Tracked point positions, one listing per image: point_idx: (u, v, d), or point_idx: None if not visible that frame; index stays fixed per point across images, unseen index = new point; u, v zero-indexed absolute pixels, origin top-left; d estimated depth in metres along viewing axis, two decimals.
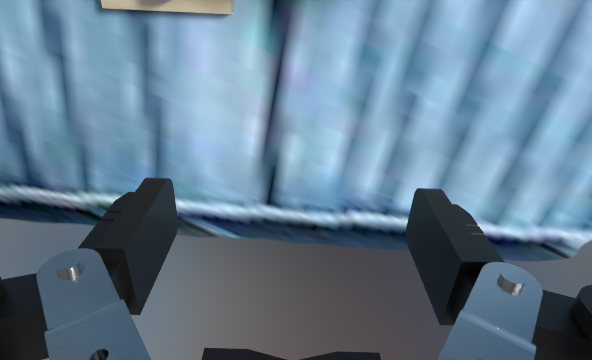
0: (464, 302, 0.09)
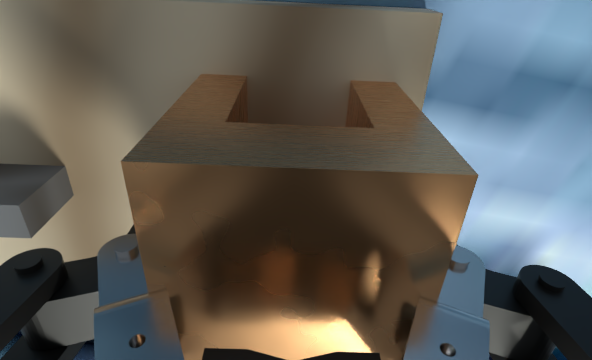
0: None
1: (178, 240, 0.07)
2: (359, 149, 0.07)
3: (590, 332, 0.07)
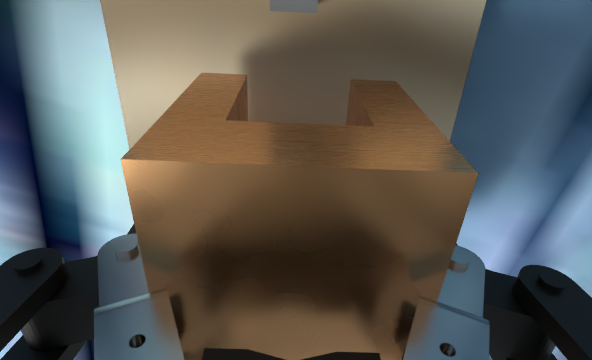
0: None
1: (179, 239, 0.07)
2: (359, 148, 0.07)
3: (590, 332, 0.07)
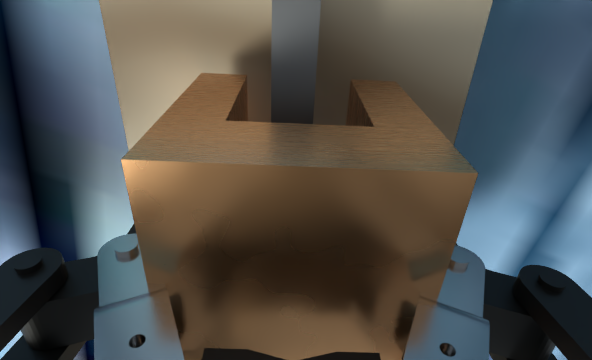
0: None
1: (179, 239, 0.07)
2: (359, 148, 0.07)
3: (590, 332, 0.07)
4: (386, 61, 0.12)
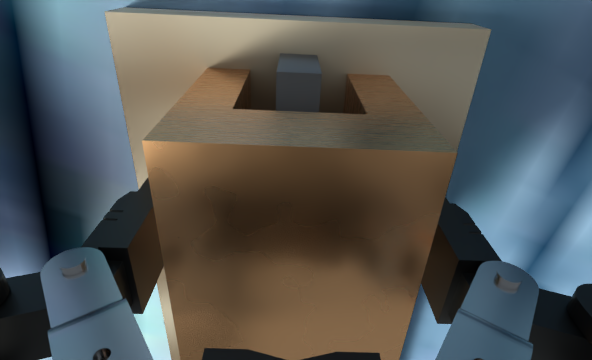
0: (461, 301, 0.09)
1: (192, 213, 0.08)
2: (353, 132, 0.08)
3: None
4: None
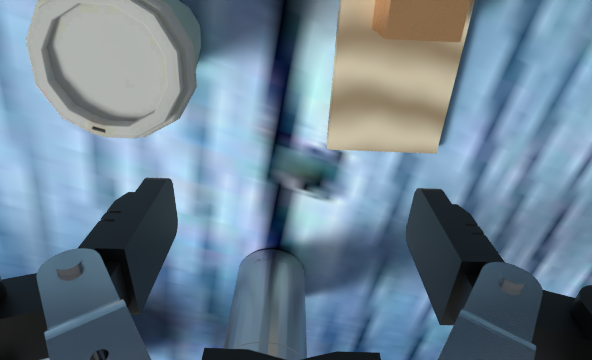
0: (464, 302, 0.09)
1: None
2: None
3: None
4: None
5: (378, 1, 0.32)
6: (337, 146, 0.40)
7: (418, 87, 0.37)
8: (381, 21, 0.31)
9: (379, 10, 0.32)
